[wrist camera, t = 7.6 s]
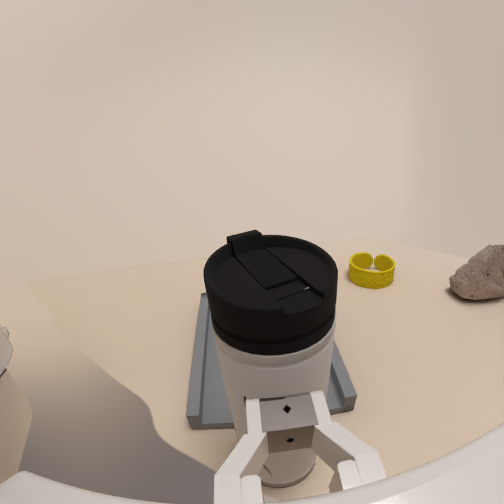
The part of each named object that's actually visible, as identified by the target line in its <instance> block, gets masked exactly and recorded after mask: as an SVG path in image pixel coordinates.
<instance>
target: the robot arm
mask: <svg viewBox="0 0 504 504" xmlns="http://www.w3.org/2000/svg"><path fill="white" fill-rule="evenodd" d="M8 336H9V332H8V330H7V329H6V328H5V327H1V325H0V375H1V374H2V372H3V371H4V370H5V368H6V367H7V365H8V363H9V361H10V359H11V356H12V345H11V343H10V341H9V339H8ZM259 403H260V405H259ZM260 412H261V413H260ZM246 418H247V432H248V434H244V435H243V436H242V438H241V439H240V441H239V442H238V444H237V445H236V446H235V448H234V449H233V451H232V452H231V454H230V455H229V456H228V458H227V459H226V461H225V462H224V463H223V465H222V466H221V467H220V469H219V470H218V471H217V473H216V474H215V476H214V504H504V422H503V423H502V424H500V425H499V426H497V427H495V428H494V429H492V430H491V431H489V432H487V433H485V434H484V435H482V436H480V437H478V438H477V439H475V440H473V441H471V442H469V443H467V444H466V445H464V446H462V447H460V448H458V449H456V450H454V451H452V452H450V453H447V454H445V455H443V456H441V457H439V458H437V459H434V460H432V461H430V462H427V463H425V464H423V465H420V466H418V467H415V468H413V469H410V470H407V471H405V472H402V473H399V474H396V475H393V476H390V477H387V476H386V473H385V471H384V468H383V465H382V462H381V459H380V457H379V454H378V451H376V450H375V449H373V448H372V447H370V446H369V445H368V444H366V443H365V442H363V441H362V440H361V439H359V438H358V437H356V436H355V435H354V434H352V433H351V432H350V431H348V430H347V429H346V428H344V427H343V426H341V425H340V424H339V423H337V422H332V419H331V415H330V412H329V409H328V406H327V402H326V399H325V396H324V393H323V391H322V390H319V391H313V392H305V393H299V394H293V395H286V396H282V397H272V398H261V399H249V400H246ZM305 448H311V449H312V450H313V451H314V452H315V453H316V454H317V455H318V456H319V457H320V458H321V459H322V460H323V461H324V462H325V463H326V464H327V465H328V466H330V467H331V468H332V469H333V470H334V471H335V473H334V475H333V478H332V480H331V482H330V485H329V490H330V493H328V494H323V495H318V496H313V497H307V498H301V499H295V500H287V501H279V502H270V503H264V497H263V491H262V485H261V479H260V477H259V476H257V475H258V473H259V472H260V470H261V468H262V466H263V465H264V463H265V461H266V459H267V457H268V455H269V453H277V452H283V451H290V450H298V449H305ZM0 504H169V503H158V502H149V501H141V500H134V499H128V498H122V497H117V496H111V495H106V494H101V493H97V492H93V491H88V490H85V489H81V488H76V487H73V486H70V485H66V484H63V483H59V482H56V481H53V480H50V479H47V478H44V477H41V476H39V475H36V474H33V473H31V472H27V471H21V472H19V473H17V474H15V475H13V476H12V477H10V478H9V479H7V480H6V481H4V482H3V483H1V484H0Z"/></svg>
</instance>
